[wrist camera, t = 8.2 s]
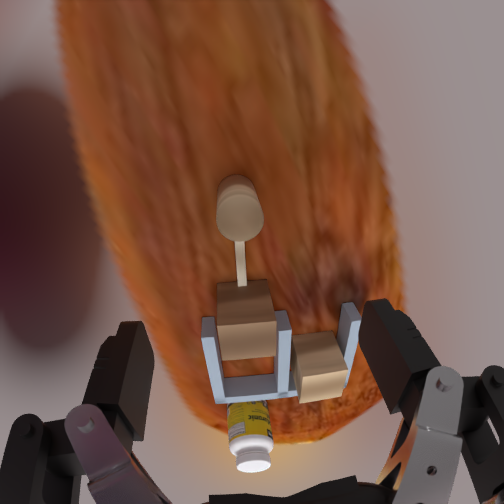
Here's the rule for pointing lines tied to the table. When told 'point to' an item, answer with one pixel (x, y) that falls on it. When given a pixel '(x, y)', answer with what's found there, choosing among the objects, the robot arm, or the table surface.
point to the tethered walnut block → (243, 278)
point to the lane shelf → (282, 379)
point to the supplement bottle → (250, 435)
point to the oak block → (317, 366)
